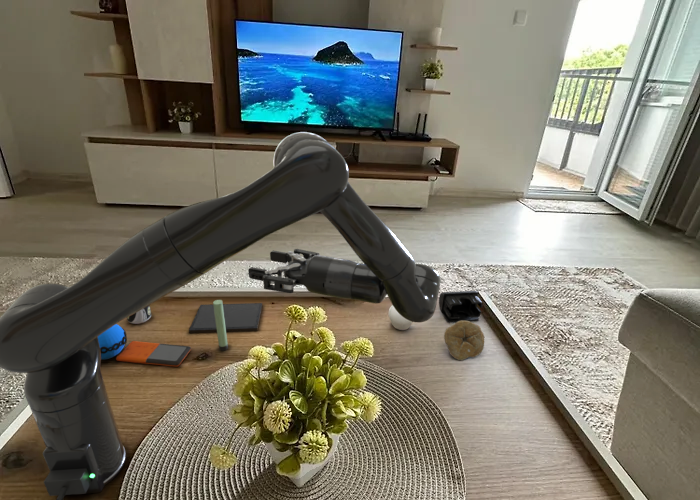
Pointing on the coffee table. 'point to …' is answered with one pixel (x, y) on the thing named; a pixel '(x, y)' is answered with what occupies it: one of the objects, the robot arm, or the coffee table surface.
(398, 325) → the apple
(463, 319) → the end cap
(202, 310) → the tablet
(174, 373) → the coffee table surface
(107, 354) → the ornament
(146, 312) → the beverage can
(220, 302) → the stylus
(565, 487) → the coffee table surface
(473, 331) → the fossil
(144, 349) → the phone
